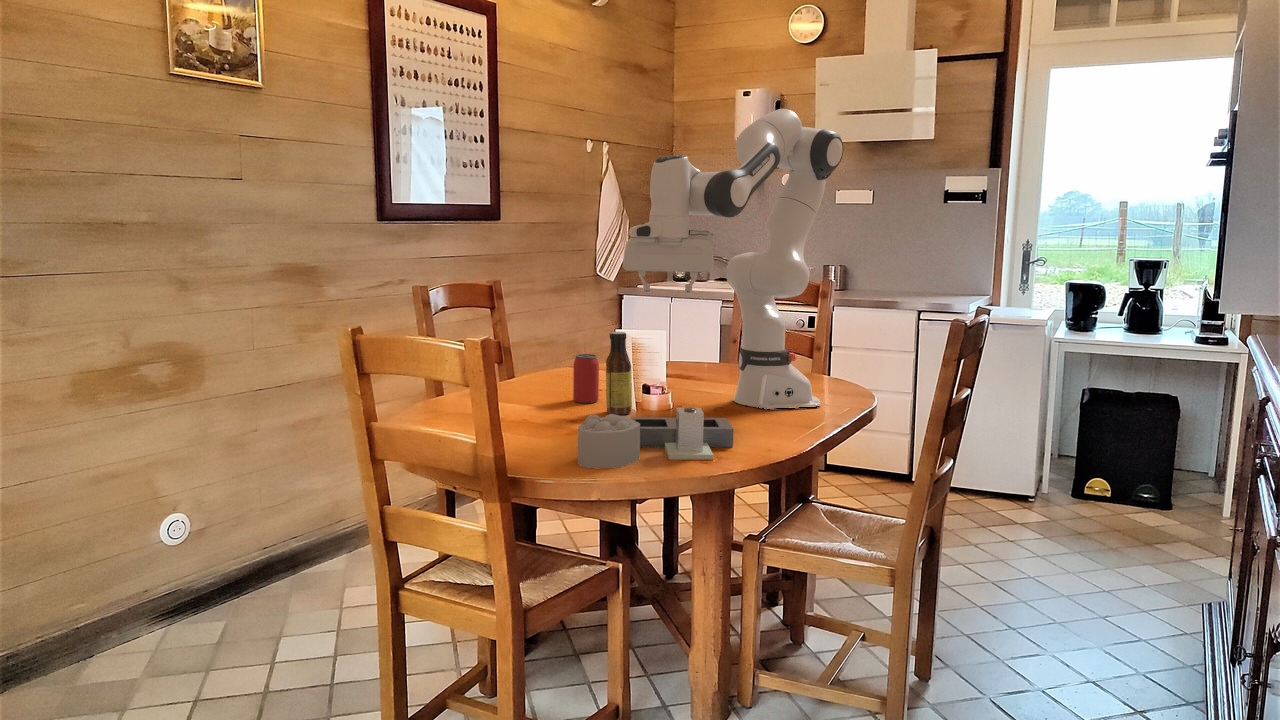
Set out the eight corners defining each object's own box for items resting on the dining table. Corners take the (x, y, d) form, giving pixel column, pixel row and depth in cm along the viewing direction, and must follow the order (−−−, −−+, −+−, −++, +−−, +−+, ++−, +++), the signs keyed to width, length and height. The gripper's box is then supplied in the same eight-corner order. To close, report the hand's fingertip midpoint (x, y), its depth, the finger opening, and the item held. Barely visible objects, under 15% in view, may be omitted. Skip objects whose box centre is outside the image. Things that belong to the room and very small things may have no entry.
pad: (706, 447, 180) (707, 442, 180) (713, 459, 171) (713, 454, 171) (664, 447, 180) (664, 442, 179) (668, 459, 171) (668, 454, 171)
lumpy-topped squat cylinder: (646, 458, 172) (647, 416, 170) (605, 473, 161) (606, 428, 160) (606, 449, 178) (606, 408, 176) (564, 462, 167) (564, 419, 166)
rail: (725, 435, 190) (725, 417, 190) (732, 447, 181) (733, 429, 180) (617, 435, 189) (617, 417, 188) (619, 447, 179) (619, 428, 178)
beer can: (600, 399, 225) (600, 354, 223) (596, 404, 219) (597, 358, 217) (575, 398, 226) (575, 353, 224) (571, 403, 219) (571, 357, 217)
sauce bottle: (636, 413, 210) (638, 333, 207) (619, 417, 206) (620, 335, 202) (617, 408, 214) (619, 330, 211) (600, 412, 210) (601, 332, 207)
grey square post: (699, 445, 178) (700, 406, 177) (702, 451, 173) (703, 411, 172) (675, 445, 178) (676, 406, 176) (678, 451, 173) (679, 411, 171)
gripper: (713, 230, 193) (711, 291, 195) (623, 228, 192) (622, 290, 194) (717, 230, 187) (715, 293, 189) (624, 229, 186) (623, 292, 188)
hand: (667, 292), depth 192 cm, fingers open, 8 cm apart
